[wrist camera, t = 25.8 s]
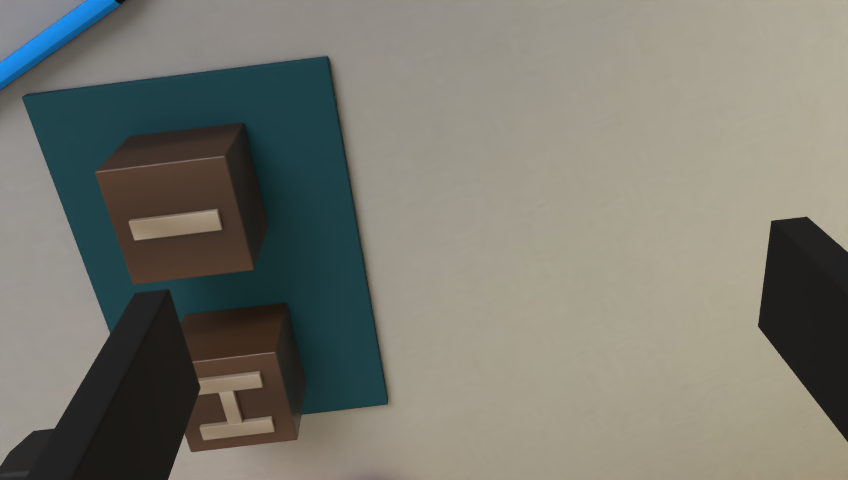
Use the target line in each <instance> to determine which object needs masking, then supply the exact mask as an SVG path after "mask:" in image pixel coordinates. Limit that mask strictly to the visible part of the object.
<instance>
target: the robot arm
mask: <svg viewBox="0 0 848 480" xmlns="http://www.w3.org/2000/svg"><path fill="white" fill-rule="evenodd" d="M758 327H759V328H760V330H761V331H762V332H763V333H764V335H765V336H766V337H767V339H768V340H769V341H770V342H771V344H772V345H773V346H774V348H775V349H776V350H777V351H778V353H779V354H780V355H781V357H782V358H783V359H784V360H785V362H786V363H787V364H788V366H789V367H790V368H791V369H792V371H793V372H794V373H795V375H796V376H797V377H798V378H799V380H800V381H801V382H802V384H803V385H804V386H805V387H806V389H807V390H808V391H809V393H810V394H811V395H812V397H813V398H814V399H815V400H816V402H817V403H818V404H819V406H820V407H821V408H822V409H823V411H824V412H825V413H826V415H827V416H828V417H829V418H830V420H831V421H832V422H833V424H834V425H835V426H836V427H837V429H838V430H839V431H840V433H841V434H842V435H843V436H844V438H845V439H846V440H847V442H848V252H847V251H846V250H845V249H843V248H842V247H841V246H840V245H839V244H838V243H836V242H835V241H834V240H833V239H832V238H831V237H830V236H828V235H827V234H826V233H825V232H824V231H823V230H822V229H820V228H819V227H818V226H817V225H816V224H815V223H814V222H812V221H811V220H810V219H809V218H808V217H801V218H792V219H784V220H775V221H771V228H770V236H769V244H768V252H767V260H766V268H765V276H764V283H763V291H762V299H761V307H760V315H759V323H758ZM200 389H201V387H200V384H199V381H198V378H197V375H196V371H195V368H194V365H193V362H192V359H191V356H190V353H189V349H188V346H187V343H186V340H185V337H184V334H183V331H182V327H181V324H180V321H179V318H178V315H177V312H176V308H175V305H174V302H173V299H172V296H171V293H170V290H169V289H165V290H156V291H147V292H138V293H134V295H133V297H132V298H131V300H130V302H129V303H128V305H127V307H126V308H125V310H124V312H123V314H122V315H121V317H120V319H119V320H118V322H117V324H116V325H115V327H114V329H113V331H112V332H111V334H110V336H109V337H108V339H107V341H106V342H105V344H104V346H103V348H102V349H101V351H100V353H99V354H98V356H97V358H96V359H95V361H94V363H93V364H92V366H91V368H90V370H89V371H88V373H87V375H86V376H85V378H84V380H83V381H82V383H81V385H80V387H79V388H78V390H77V392H76V393H75V395H74V397H73V398H72V400H71V402H70V404H69V405H68V407H67V409H66V410H65V412H64V414H63V415H62V417H61V419H60V420H59V422H58V424H57V426H56V427H55V429H47V430H38V431H33V432H32V433H31V434H30V435H28V436H27V437H26V438H25V439H24V440H23V441H22V442H21V443H19V444H18V445H17V446H16V447H15V448H14V449H13V450H12V451H10V452H9V454H8V455H7V457H6V459H5V460H4V462H3V463H2V465H1V466H0V480H168V478H169V475H170V472H171V469H172V467H173V464H174V461H175V458H176V456H177V453H178V450H179V447H180V444H181V442H182V439H183V436H184V433H185V431H186V428H187V425H188V422H189V419H190V417H191V414H192V411H193V408H194V406H195V403H196V400H197V397H198V394H199V392H200Z"/></svg>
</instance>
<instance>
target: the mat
mask: <svg viewBox="0 0 848 480" xmlns="http://www.w3.org/2000/svg"><path fill="white" fill-rule="evenodd" d="M22 99H23V102H24V104H25V107H26V110H27V112H28V115H29V118H30V120H31V123H32V126H33V128H34V131H35V134H36V136H37V139H38V142H39V144H40V147H41V150H42V152H43V155H44V158H45V160H46V163H47V166H48V168H49V171H50V174H51V176H52V179H53V182H54V184H55V187H56V190H57V192H58V195H59V198H60V200H61V203H62V206H63V208H64V211H65V214H66V216H67V219H68V222H69V224H70V227H71V230H72V232H73V235H74V238H75V240H76V243H77V246H78V248H79V251H80V254H81V256H82V259H83V262H84V265H85V267H86V270H87V273H88V275H89V278H90V281H91V283H92V286H93V289H94V291H95V294H96V297H97V299H98V302H99V305H100V307H101V310H102V313H103V315H104V318H105V321H106V323H107V326H108V329H109V331H110V334H111V332H112V331H113V329H114V327H115V325H116V324H117V322H118V320H119V319H120V317H121V315H122V314H123V312H124V310H125V308H126V307H127V305H128V303H129V302H130V300H131V298H132V297H133V295H134V293H138V292H147V291H156V290H165V289H169V290H170V293H171V296H172V299H173V302H174V305H175V308H176V312H177V315H178V318H179V321H180V324H181V322H182V320H183V317H184V315H188V314H196V313H205V312H213V311H221V310H229V309H238V308H246V307H254V306H262V305H271V304H279V303H287V305H288V309H289V314H290V318H291V322H292V326H293V331H294V335H295V339H296V344H297V348H298V352H299V356H300V361H301V365H302V369H303V374H304V378H305V382H306V387H305V394H304V400H303V407H302V413H301V415H303V414H311V413H320V412H328V411H336V410H344V409H352V408H361V407H369V406H377V405H385V404H388V397H387V392H386V386H385V380H384V374H383V369H382V363H381V357H380V351H379V346H378V340H377V334H376V328H375V323H374V317H373V311H372V305H371V300H370V294H369V288H368V283H367V277H366V271H365V265H364V260H363V254H362V248H361V242H360V237H359V231H358V225H357V219H356V214H355V208H354V202H353V197H352V191H351V185H350V179H349V174H348V168H347V162H346V156H345V151H344V145H343V139H342V133H341V128H340V122H339V116H338V110H337V105H336V99H335V93H334V88H333V82H332V76H331V70H330V65H329V59H328V57H327V56H326V57H318V58H310V59H302V60H294V61H286V62H278V63H270V64H262V65H255V66H247V67H239V68H231V69H223V70H215V71H207V72H199V73H191V74H184V75H176V76H168V77H160V78H152V79H144V80H136V81H128V82H120V83H113V84H105V85H97V86H89V87H81V88H73V89H65V90H57V91H50V92H42V93H34V94H27V95H25V96H23V97H22ZM234 123H244V125H245V129H246V134H247V138H248V142H249V146H250V151H251V155H252V159H253V163H254V168H255V172H256V176H257V181H258V185H259V189H260V193H261V198H262V202H263V206H264V210H265V215H266V219H267V223H268V228H267V231H266V234H265V237H264V241H263V244H262V247H261V250H260V253H259V256H258V259H257V262H256V265H255V268H254V270H250V271H242V272H234V273H226V274H218V275H209V276H201V277H193V278H185V279H177V280H168V281H160V282H152V283H144V284H136V285H134V284H133V283H132V280H131V277H130V274H129V271H128V268H127V265H126V262H125V259H124V257H123V254H122V251H121V248H120V245H119V242H118V239H117V236H116V233H115V230H114V227H113V224H112V221H111V219H110V216H109V213H108V210H107V207H106V204H105V201H104V198H103V195H102V192H101V189H100V186H99V183H98V180H97V178H96V175H95V171H96V170H97V169H98V168H99V167H100V166H101V165H102V164H103V163H104V162H105V161H106V160H107V159H108V157H109V156H110V155H111V154H112V153H113V152H114V151H115V150H116V149H117V148H118V147H119V146H120V145H121V144H122V143H123V142H124V141H125V140H126V139H127V138H128V137H129V136H137V135H145V134H153V133H162V132H170V131H178V130H186V129H194V128H202V127H210V126H218V125H226V124H234Z"/></svg>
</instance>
